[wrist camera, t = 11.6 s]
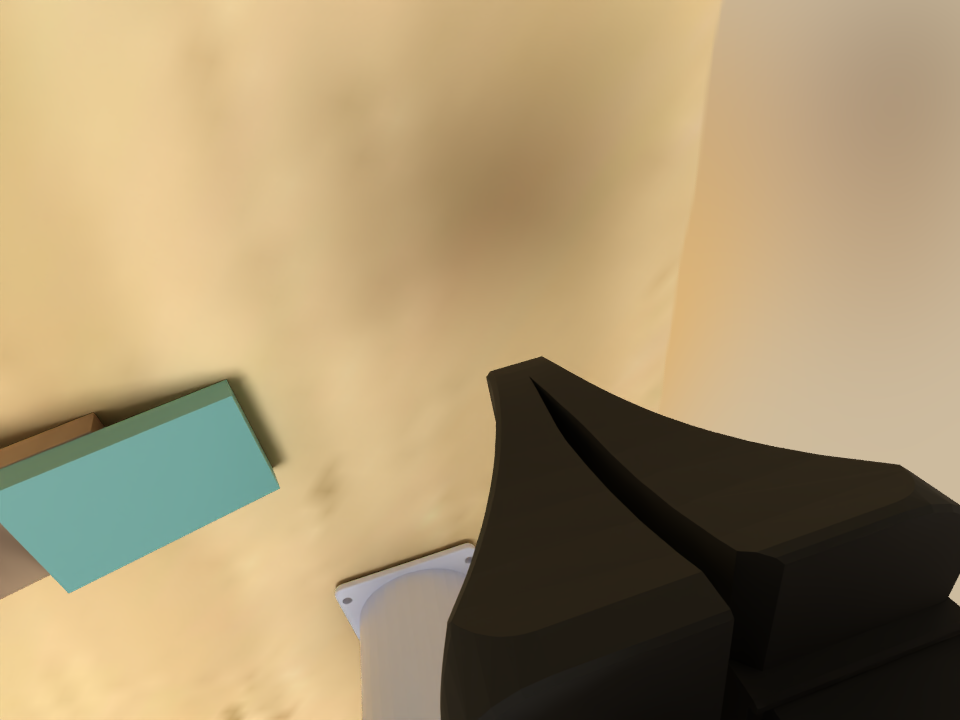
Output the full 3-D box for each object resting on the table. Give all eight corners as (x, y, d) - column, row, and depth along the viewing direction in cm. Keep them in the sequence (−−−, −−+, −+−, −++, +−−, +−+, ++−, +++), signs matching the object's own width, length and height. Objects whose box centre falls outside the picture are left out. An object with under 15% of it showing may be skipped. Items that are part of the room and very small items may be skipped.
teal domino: (280, 488, 22) (69, 593, 19) (272, 468, 23) (73, 564, 20) (231, 395, 19) (-23, 499, 16) (226, 379, 20) (-10, 473, 17)
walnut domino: (158, 521, 21) (-80, 638, 18) (157, 499, 22) (-66, 606, 19) (90, 430, 18) (-202, 549, 15) (93, 412, 20) (-176, 518, 17)
